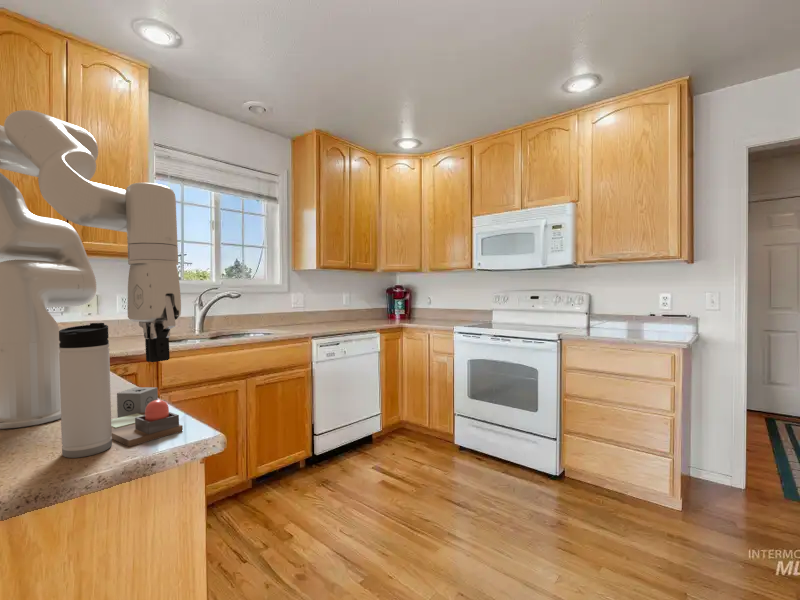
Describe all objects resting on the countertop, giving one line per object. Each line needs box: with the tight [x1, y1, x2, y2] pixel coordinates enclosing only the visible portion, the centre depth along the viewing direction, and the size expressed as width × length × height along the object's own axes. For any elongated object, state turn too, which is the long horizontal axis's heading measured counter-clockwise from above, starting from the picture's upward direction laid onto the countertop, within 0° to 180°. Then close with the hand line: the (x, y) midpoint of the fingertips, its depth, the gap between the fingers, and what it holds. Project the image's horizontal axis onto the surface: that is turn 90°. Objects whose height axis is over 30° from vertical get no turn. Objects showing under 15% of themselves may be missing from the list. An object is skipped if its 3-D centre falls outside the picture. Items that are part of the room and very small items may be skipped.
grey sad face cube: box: [116, 386, 159, 418], centre depth 84 cm, size 5×5×5 cm
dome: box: [145, 399, 170, 422], centre depth 72 cm, size 4×4×4 cm
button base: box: [111, 411, 184, 447], centre depth 74 cm, size 15×9×3 cm, turn 56°
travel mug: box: [59, 322, 113, 459], centre depth 64 cm, size 6×7×20 cm
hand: (158, 360), depth 72 cm, fingers closed
